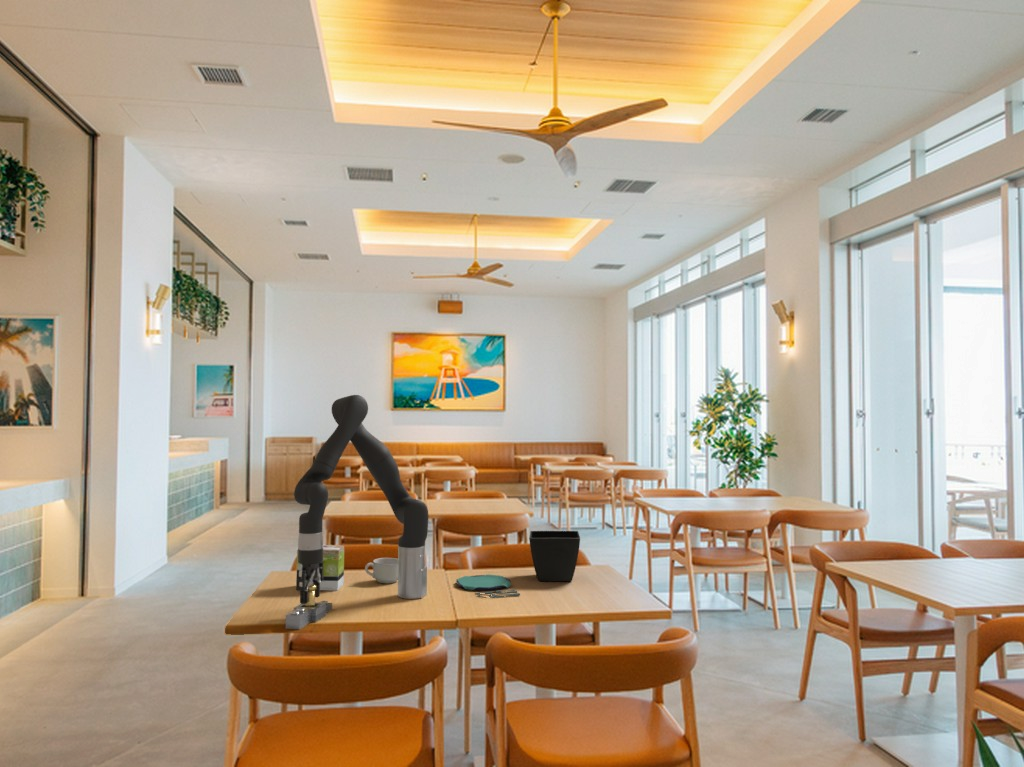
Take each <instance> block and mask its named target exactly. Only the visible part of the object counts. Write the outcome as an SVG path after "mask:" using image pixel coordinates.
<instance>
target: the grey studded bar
mask: <svg viewBox="0 0 1024 767" xmlns="http://www.w3.org/2000/svg"><path fill="white" fill-rule="evenodd" d="M331 610H333V603H332V602H328V600H322V601H319V602H316V601H315V607H305V604H301V603H299V604H298V605H297V606H295V607H293V610H292V611H290V612H288V613H287V614H285V629H286V630H301V629H304V628H305V627H306V626H307V624H308V623H309V622H311V621H317V622H319V621H320V620H322V619H324V618H325V617H326V616H327V613H328V612H330V611H331ZM321 618H322V619H321ZM318 620H319V621H318ZM311 623H312V622H311ZM309 624H310V623H309ZM309 624H308V625H309Z"/></svg>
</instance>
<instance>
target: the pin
mask: <svg viewBox="0 0 1024 767" xmlns="http://www.w3.org/2000/svg"><path fill="white" fill-rule="evenodd" d="M305 587H306V586H305ZM315 589H316V585H314V584H310V585H309V588H308V603H306V604H305V607H315V602H316V597H315Z"/></svg>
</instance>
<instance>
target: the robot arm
mask: <svg viewBox="0 0 1024 767" xmlns="http://www.w3.org/2000/svg"><path fill="white" fill-rule="evenodd" d="M368 412H369V405H368V401H367V400H366V399H365V397H364V396H362V395H359V394H351V395H348V396H344V397H341V398H338V399H336V400H334V402H333V403H332V404H331V414H332V417H333V419H334V421H335V423H336V424H337V427H336V428H335V430H334V431H333V432H332V433H331V435H330V436H329V437H328V439H327V440H326V441H324V443H323V445H322V446H321V447H320V448H319V450H318V452H317V454H316V456H315V458H314V461H313V463H312V465H311V466H310V467H309V469H308V470H307V471H306V472H305V473H304V474H303V476H302V477H301V478H300V479H299V481H297V483H296V485H295V487H294V493H293V496H294V500H295V502H297V504H300V505H305V506H307V505H308V506H309V507H308V511H307V512H302V513H301V514H300V515H299V519H298V537H297V538H298V539H297V550H298V563H300V564H302V565H303V566H302V570H297V569H296V577H295V578H296V579H295V580H296V581H295V582H296V584H295V587H296V588H295V590H296V591H299V596H300V597H299V604H306V603H308V588H309V585H310V584H311V583H312V584H314V585H316V589H315V598H318V597H320V595H321V590H320V584H321V581H323V579H324V575H323V562H322V561H323V545H324V536H323V534H324V533H323V519H324V514H325V511H326V507H327V505H328V504H327V503H328V502H329V501H328V500H329V490H328V488H327V486H326V485H325V484H324V483H323V482H324V481H329V479H331V477H332V476H333V474H334V473H335V470H336V467H338V466H337V465H338V464H339V462H340V459H341V457H342V455H343V453H344V452H345V449H346V448H347V446H348V444H349V443H350V442H351V444H352V445H353V447H354V449H355V450H356V452H357V453H358V454H359V457H360V458H361V460H362V461H363V463H364V465H365V467H366V468H367V470H368V471H369V473H370V474H371V476H372V477H373V479H374V480H375V483H377V485H378V487H379V488H380V490H381V491H382V492H383V494H384V497H385V498H386V500H387V501H388V504H389V506H390V508H391V510H392V512H393V515H394V516H395V518H396V519H397V521H398V522H399V523H401V524H402V525H403V528H402V529H403V532H402V535H401V536H399V537H398V539H397V540H398V541H397V542H398V546H397V549H398V552H397V557H398V558H397V559H398V580H397V597H398V598H401V599H406V600H407V599H408V600H415V599H423V598H424V597H425V596H427V593H428V592H427V591H428V581H427V580H428V567H427V566H426V540H427V537H428V531H429V510H428V506H427V504H426V503H425V502H424V501H422V500H420V499H416V498H413V497H412V496H411V495H410V494H409V493H408V491H407V489H406V488H405V486H404V484H403V483H402V480H401V479H402V478H401V475H400V470H399V466H398V464H397V462H396V461H397V460H396V459H395V458H394V456H393V455H392V453H391V451H390V449H389V448H388V447H387V446H386V445H385V443H384V442H382V441H381V440H379V439H378V438H377V437H375V436H374V435H373V434H371V432H369V431H368V430H367V428H365V426H364V424H363V422H364V420H365V418H366V417H367V415H368ZM320 574H321V576H320ZM299 583H300V586H299ZM305 586H306V587H305Z"/></svg>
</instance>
